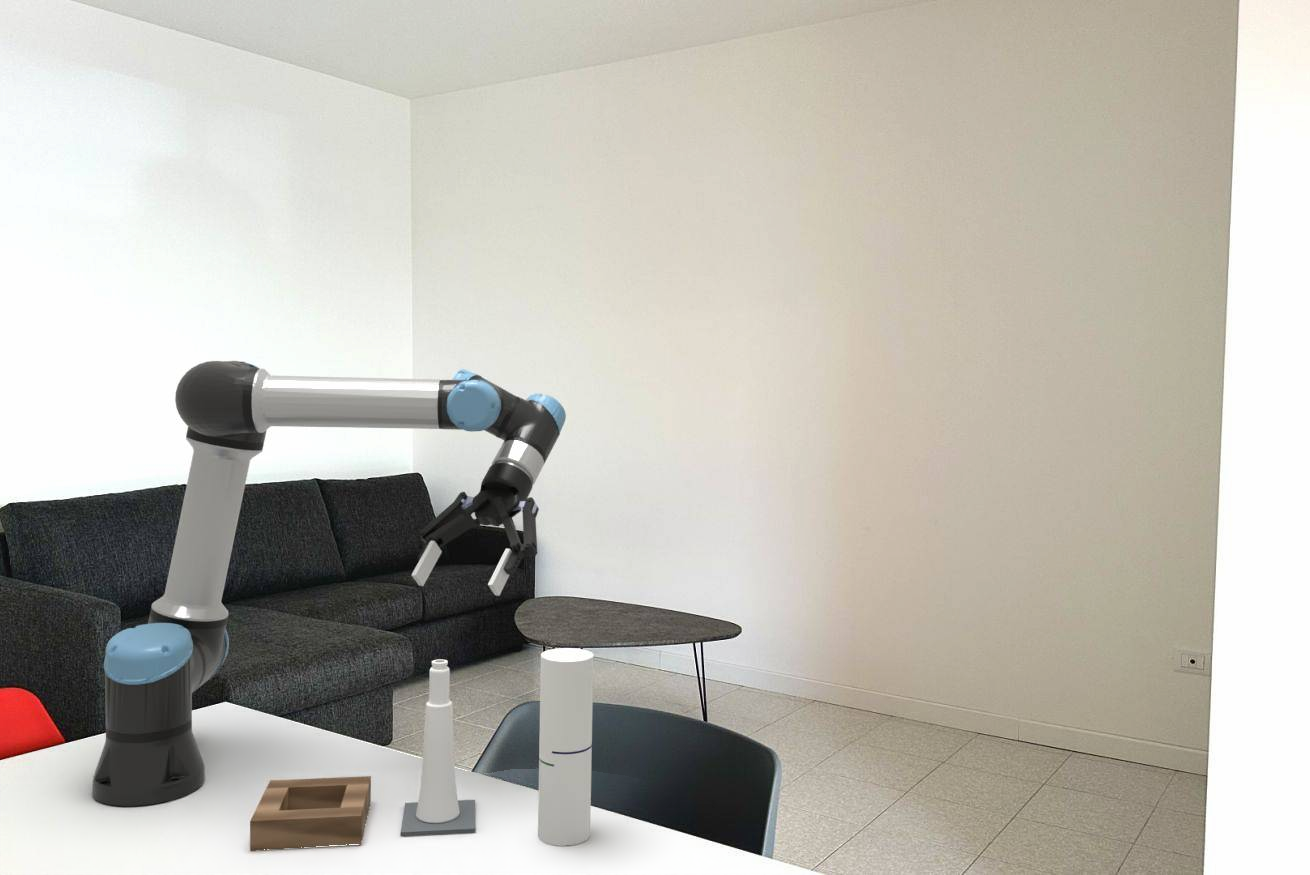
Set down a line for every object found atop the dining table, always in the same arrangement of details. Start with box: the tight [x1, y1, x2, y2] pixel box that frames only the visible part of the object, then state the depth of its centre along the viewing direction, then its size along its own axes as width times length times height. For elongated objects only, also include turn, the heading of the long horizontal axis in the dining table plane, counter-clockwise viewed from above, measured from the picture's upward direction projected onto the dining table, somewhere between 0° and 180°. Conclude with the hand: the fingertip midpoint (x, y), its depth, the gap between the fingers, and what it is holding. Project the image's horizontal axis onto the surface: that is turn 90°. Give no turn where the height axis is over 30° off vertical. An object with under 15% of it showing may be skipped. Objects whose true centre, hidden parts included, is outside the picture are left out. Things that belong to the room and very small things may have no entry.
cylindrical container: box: [537, 647, 594, 847], centre depth 144 cm, size 7×7×25 cm
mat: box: [399, 799, 476, 837], centre depth 149 cm, size 10×10×1 cm
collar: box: [249, 775, 372, 852], centre depth 146 cm, size 14×14×4 cm
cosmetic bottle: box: [416, 658, 460, 823], centre depth 148 cm, size 6×6×22 cm
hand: (454, 585), depth 155 cm, fingers open, 13 cm apart
